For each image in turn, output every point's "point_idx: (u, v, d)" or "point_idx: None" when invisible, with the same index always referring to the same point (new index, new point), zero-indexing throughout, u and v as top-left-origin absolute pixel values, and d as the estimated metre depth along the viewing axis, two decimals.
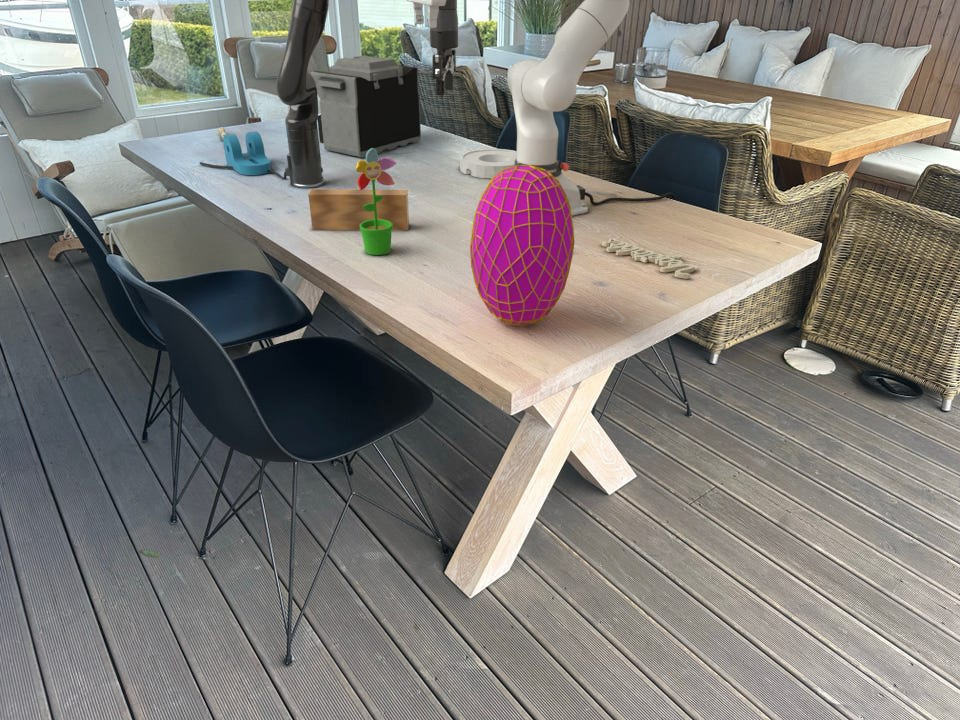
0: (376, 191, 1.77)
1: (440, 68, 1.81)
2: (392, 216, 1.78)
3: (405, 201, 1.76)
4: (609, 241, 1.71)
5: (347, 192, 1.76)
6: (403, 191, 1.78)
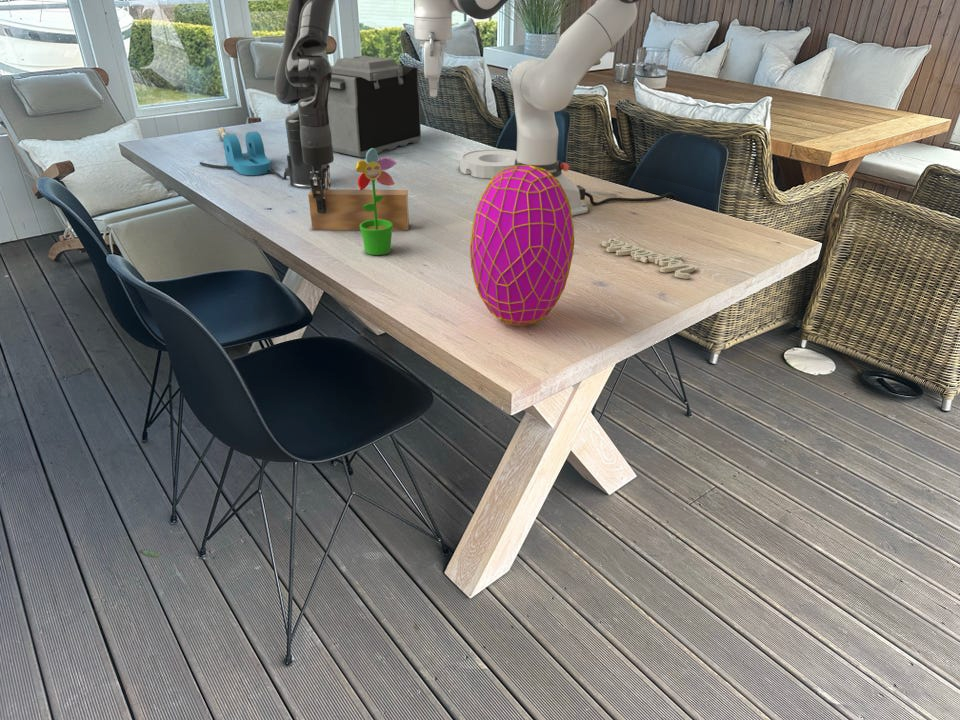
0: (376, 191, 1.77)
1: None
2: (392, 216, 1.78)
3: (405, 201, 1.76)
4: (609, 241, 1.71)
5: (346, 192, 1.76)
6: (403, 191, 1.78)
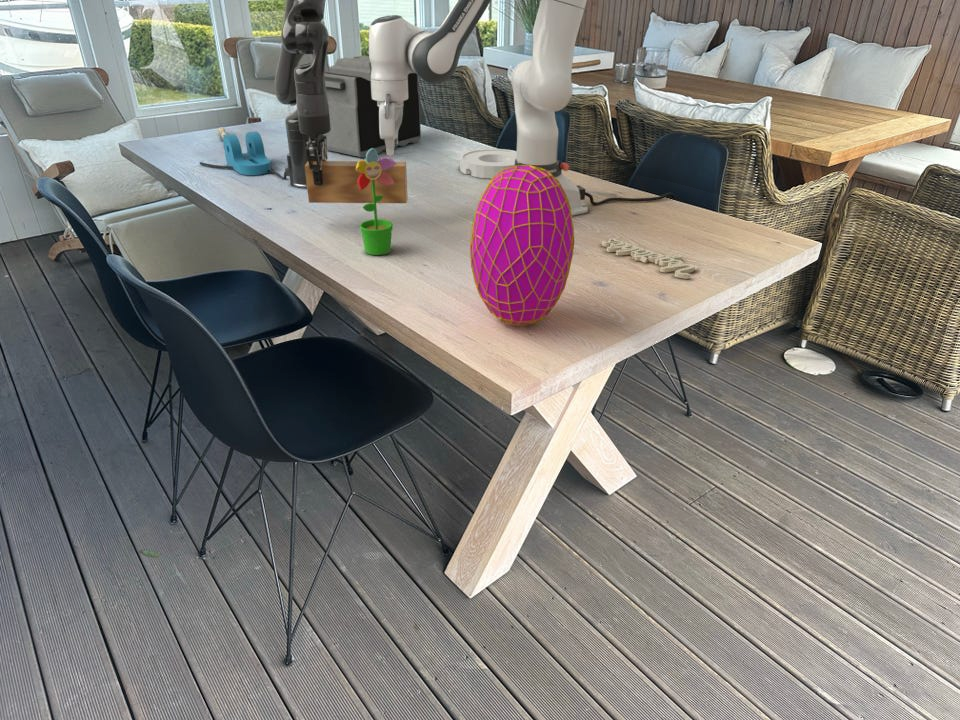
0: None
1: None
2: (390, 188, 1.74)
3: (404, 173, 1.72)
4: (609, 241, 1.71)
5: (344, 164, 1.72)
6: (401, 162, 1.74)
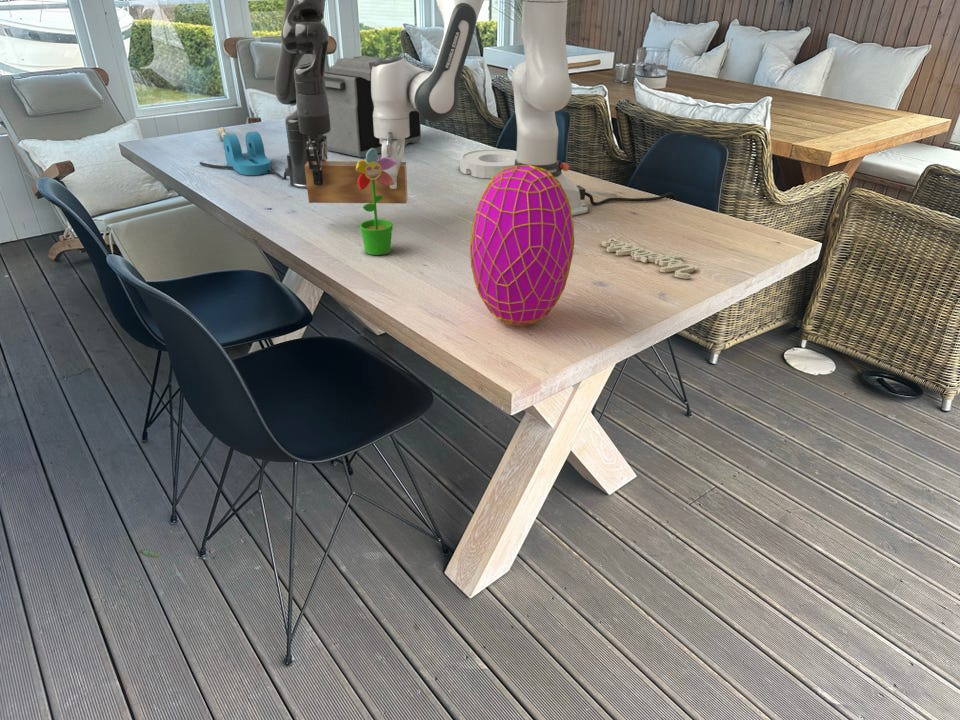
0: None
1: None
2: (390, 189, 1.74)
3: (403, 173, 1.72)
4: (609, 241, 1.71)
5: (344, 164, 1.72)
6: (401, 163, 1.74)
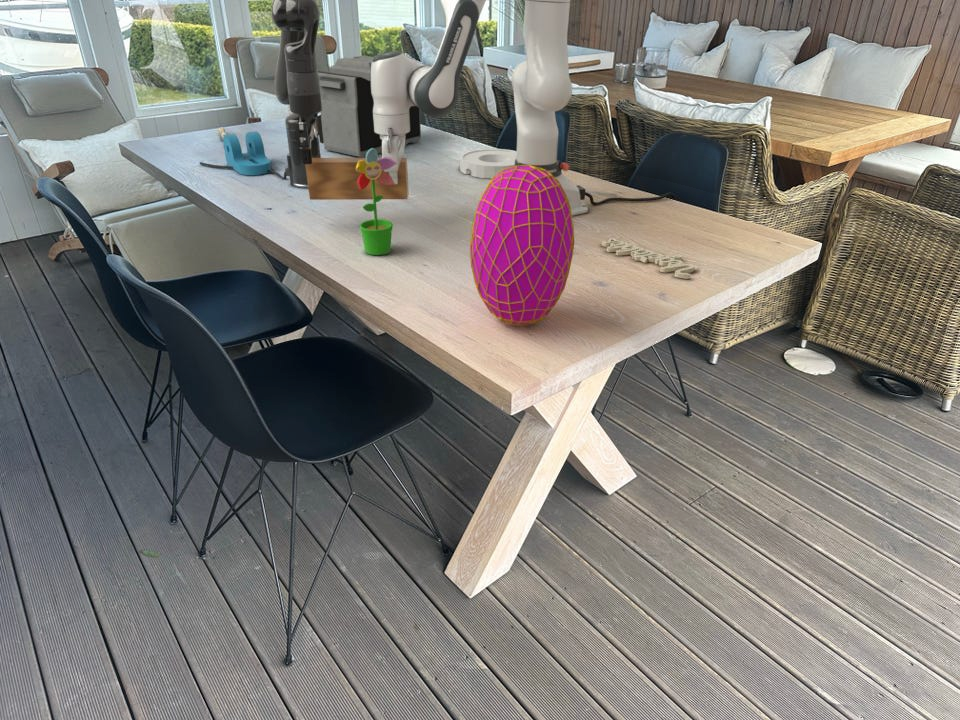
0: None
1: None
2: (391, 185, 1.74)
3: (404, 168, 1.72)
4: (609, 241, 1.71)
5: (344, 160, 1.72)
6: (402, 158, 1.73)
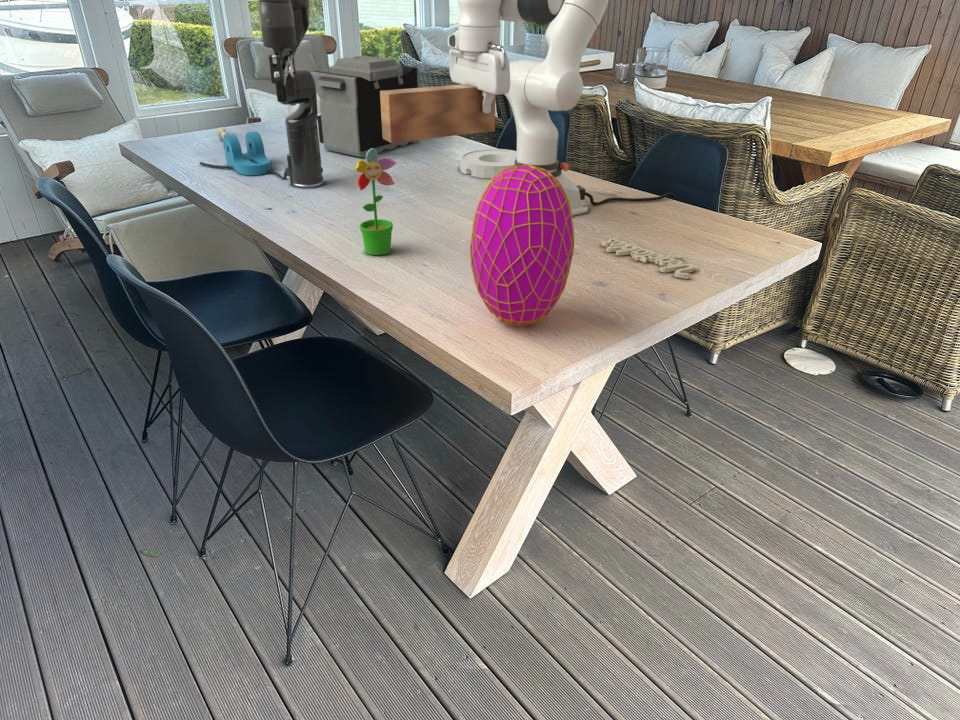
0: (457, 86, 1.46)
1: None
2: (479, 115, 1.48)
3: None
4: (609, 241, 1.71)
5: (428, 89, 1.42)
6: None
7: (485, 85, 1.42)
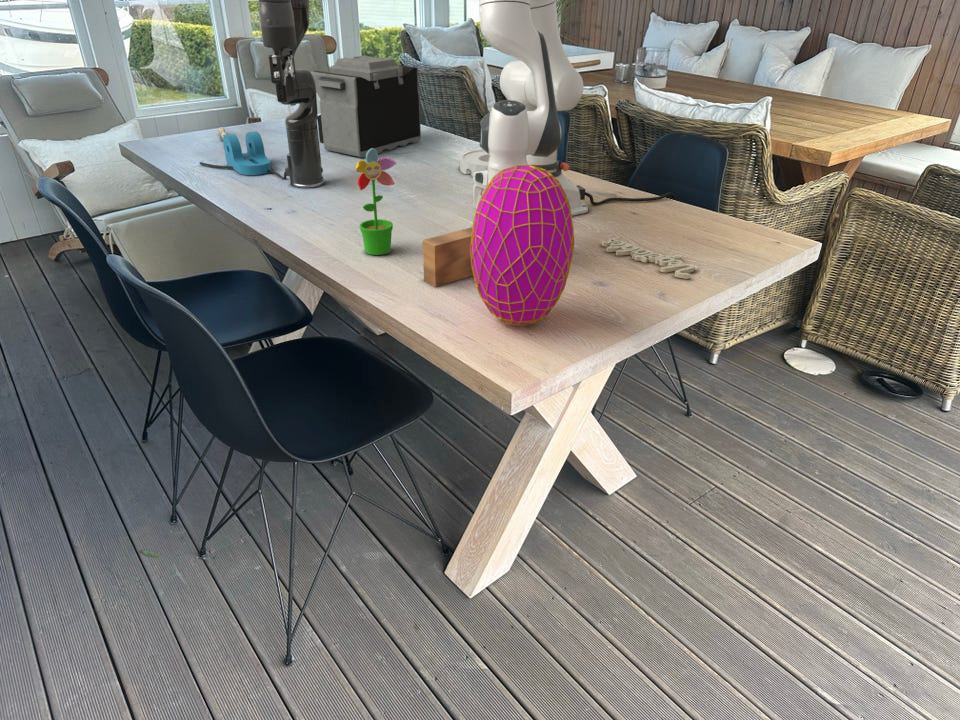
0: None
1: None
2: None
3: None
4: (609, 241, 1.71)
5: (465, 234, 1.51)
6: None
7: None
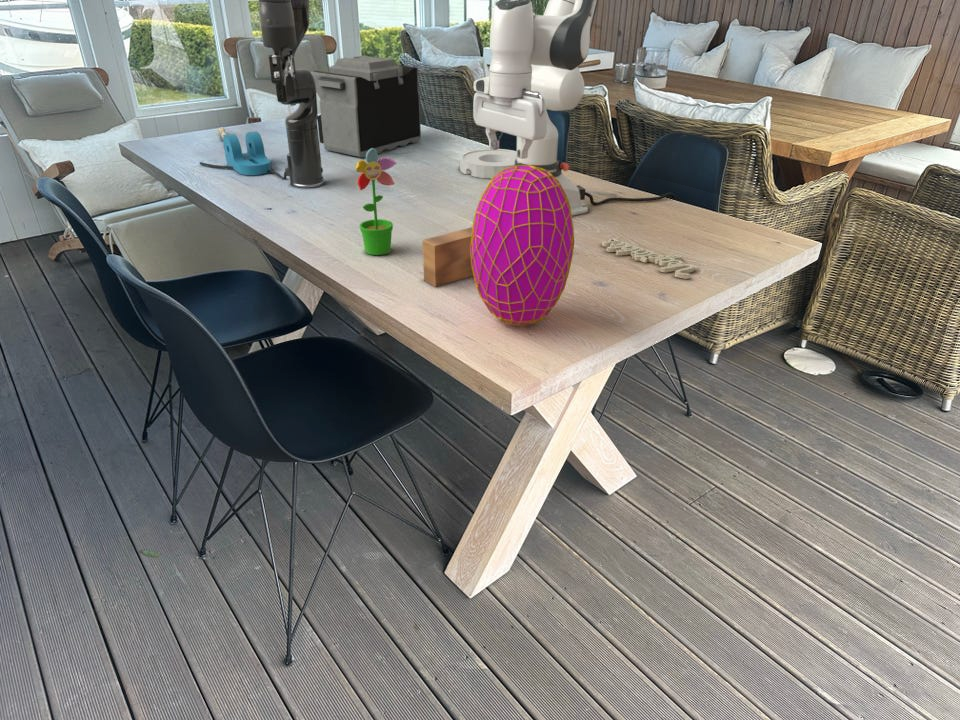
0: None
1: None
2: None
3: None
4: (609, 241, 1.71)
5: (465, 234, 1.51)
6: None
7: (520, 130, 1.42)
